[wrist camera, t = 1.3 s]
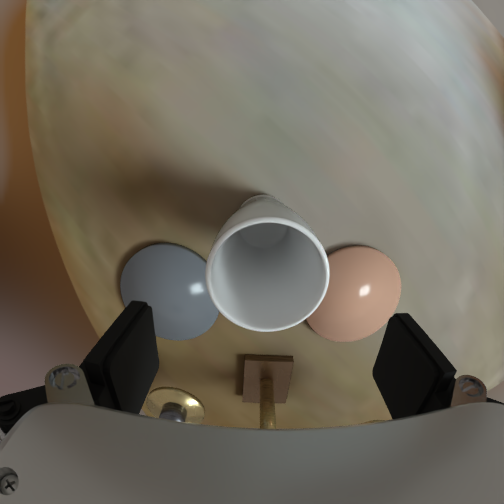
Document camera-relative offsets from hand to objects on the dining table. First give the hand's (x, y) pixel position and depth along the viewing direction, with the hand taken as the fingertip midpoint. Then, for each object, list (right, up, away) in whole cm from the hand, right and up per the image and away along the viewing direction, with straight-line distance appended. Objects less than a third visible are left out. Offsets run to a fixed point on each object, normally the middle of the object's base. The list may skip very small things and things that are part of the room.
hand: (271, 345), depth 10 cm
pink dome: (+11, -1, +21) cm, 24 cm away
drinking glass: (0, +7, +19) cm, 20 cm away
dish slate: (-10, -1, +22) cm, 24 cm away
